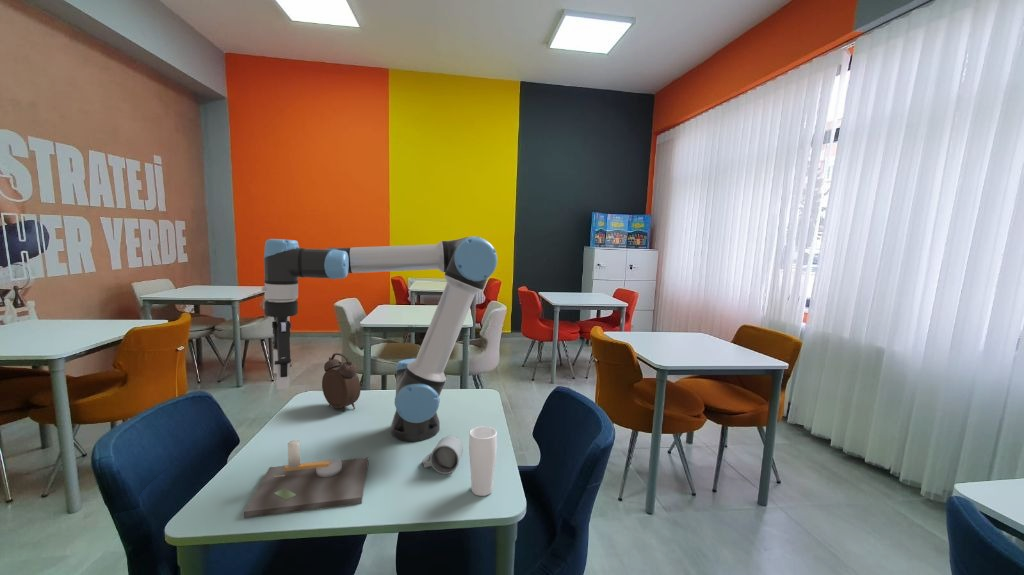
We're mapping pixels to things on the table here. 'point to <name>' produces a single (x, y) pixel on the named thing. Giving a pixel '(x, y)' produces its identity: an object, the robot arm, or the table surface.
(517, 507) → the table surface
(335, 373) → the alarm clock
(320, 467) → the dial
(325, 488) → the dial plate
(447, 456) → the ceramic mug
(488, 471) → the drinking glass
